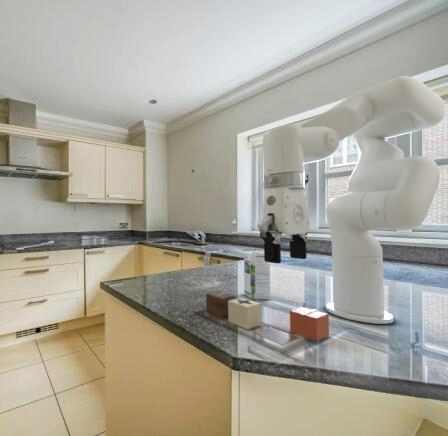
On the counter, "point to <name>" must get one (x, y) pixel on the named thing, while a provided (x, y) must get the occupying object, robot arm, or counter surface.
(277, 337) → the word board
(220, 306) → the dark wood block
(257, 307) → the cross-marked cream cube
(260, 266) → the syrup box
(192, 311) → the counter surface
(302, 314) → the orange block
